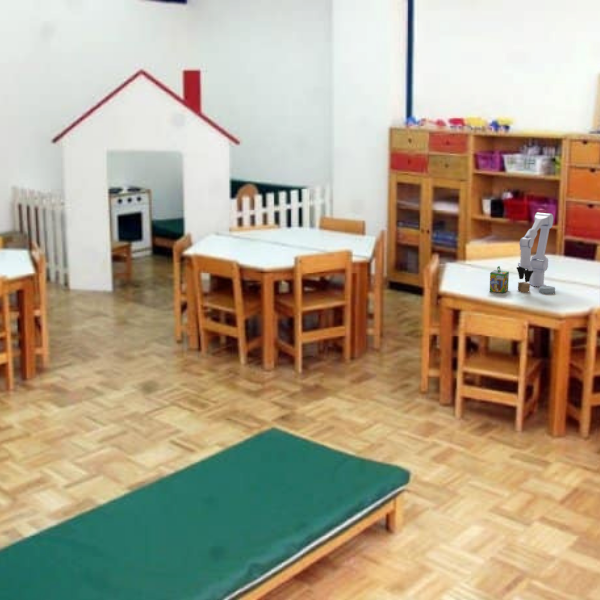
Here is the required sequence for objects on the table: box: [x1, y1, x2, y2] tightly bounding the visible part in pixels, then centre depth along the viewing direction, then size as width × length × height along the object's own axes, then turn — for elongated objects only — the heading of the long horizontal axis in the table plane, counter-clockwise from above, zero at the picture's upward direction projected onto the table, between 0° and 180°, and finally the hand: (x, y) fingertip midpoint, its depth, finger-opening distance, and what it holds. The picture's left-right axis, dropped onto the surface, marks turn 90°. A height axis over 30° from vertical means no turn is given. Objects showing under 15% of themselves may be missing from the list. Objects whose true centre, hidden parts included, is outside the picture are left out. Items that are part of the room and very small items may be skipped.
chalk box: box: [489, 265, 510, 294], centre depth 522 cm, size 9×9×15 cm
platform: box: [538, 285, 556, 295], centre depth 519 cm, size 9×9×3 cm
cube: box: [517, 281, 531, 293], centre depth 522 cm, size 5×5×5 cm
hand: (524, 280), depth 521 cm, fingers open, 7 cm apart
